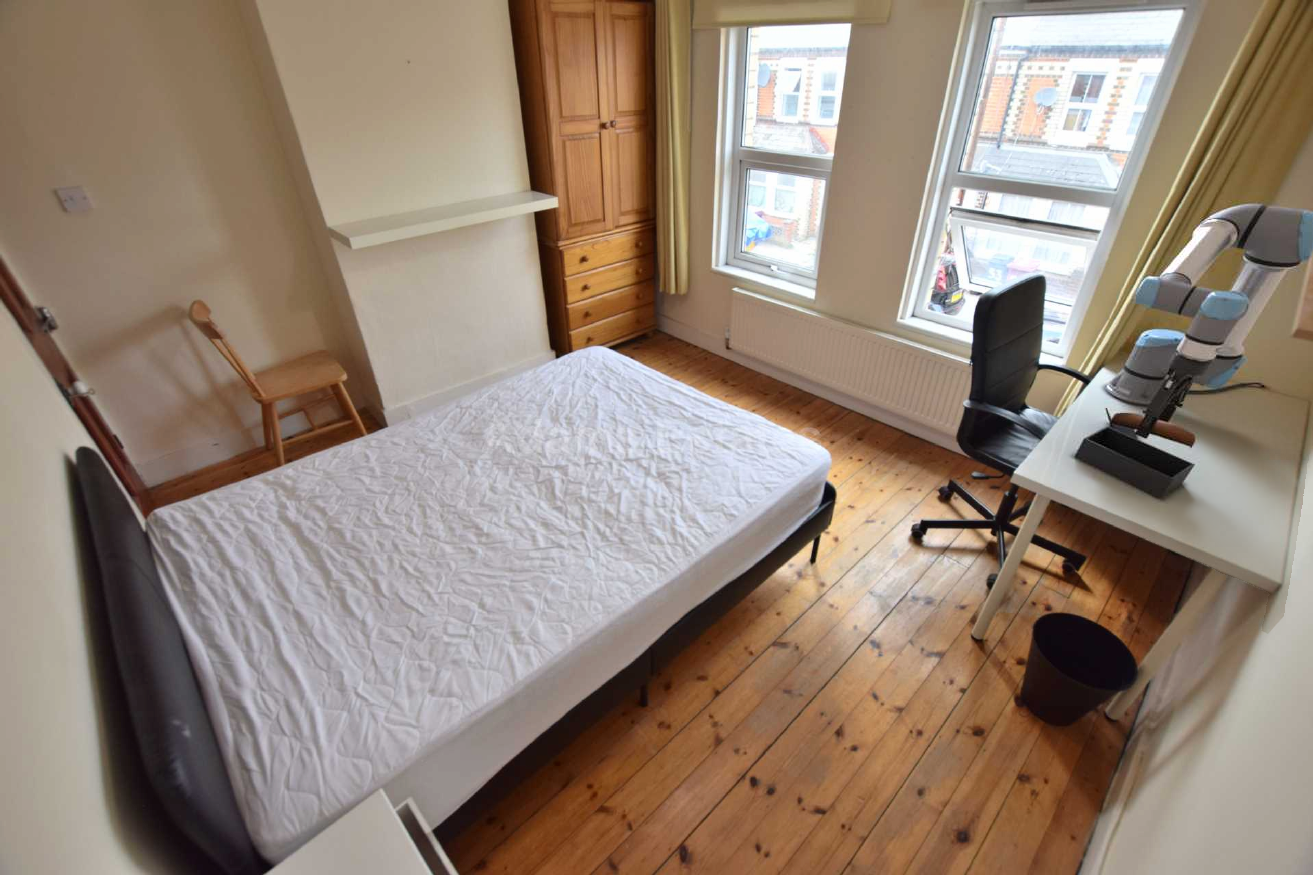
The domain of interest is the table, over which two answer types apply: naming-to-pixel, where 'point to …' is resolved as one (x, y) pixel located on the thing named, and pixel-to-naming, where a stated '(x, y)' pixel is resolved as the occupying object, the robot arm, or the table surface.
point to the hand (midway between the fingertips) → (1149, 431)
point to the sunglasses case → (1156, 428)
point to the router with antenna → (1121, 427)
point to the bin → (1134, 461)
